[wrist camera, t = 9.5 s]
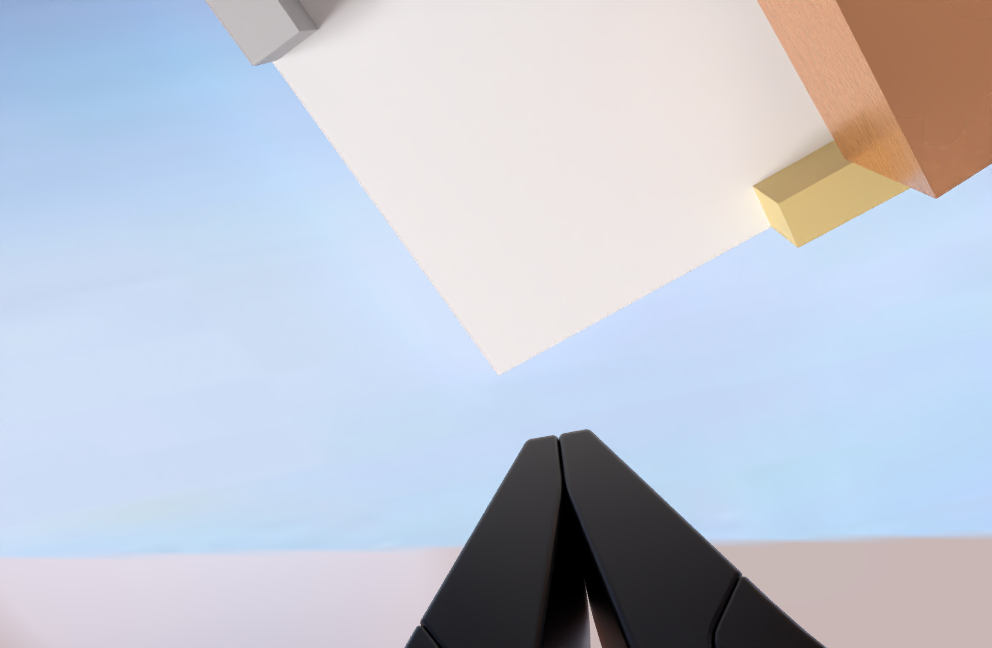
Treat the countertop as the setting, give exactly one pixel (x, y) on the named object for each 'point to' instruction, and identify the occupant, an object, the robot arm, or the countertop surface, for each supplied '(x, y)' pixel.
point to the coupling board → (561, 143)
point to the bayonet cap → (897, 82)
